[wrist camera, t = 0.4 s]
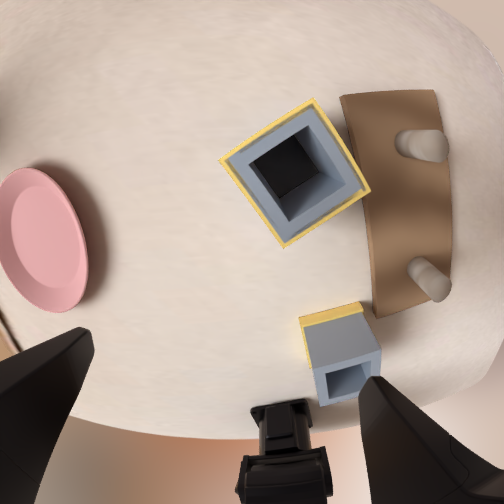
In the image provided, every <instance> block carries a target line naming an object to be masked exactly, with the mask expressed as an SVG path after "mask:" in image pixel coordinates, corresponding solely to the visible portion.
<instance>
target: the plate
mask: <svg viewBox="0 0 504 504" xmlns="http://www.w3.org/2000/svg"><path fill="white" fill-rule="evenodd" d="M0 263H1V265H2V267H3V269H4V271H5V273H6V275H7V277H8V278H9V280H10V281H11V283H12V284H13V286H14V287H15V288H16V289H17V291H18V292H19V293H20V294H21V295H22V296H23V297H24V298H25V299H26V300H28V301H29V302H30V303H32V304H33V305H35V306H36V307H38V308H40V309H42V310H45V311H48V312H53V313H61V312H66V311H68V310H70V309H72V308H73V307H75V306H76V305H77V304H78V303H79V301H80V300H81V298H82V297H83V295H84V292H85V289H86V286H87V281H88V269H89V266H88V253H87V247H86V242H85V237H84V233H83V230H82V227H81V224H80V221H79V219H78V216H77V214H76V212H75V210H74V208H73V206H72V204H71V202H70V200H69V199H68V197H67V195H66V194H65V193H64V191H63V190H62V189H61V187H60V186H59V185H58V184H57V183H56V182H55V181H54V180H53V179H52V178H51V177H50V176H48V175H47V174H45V173H44V172H42V171H40V170H37V169H34V168H21V169H18V170H15V171H14V172H12V173H11V174H9V175H8V176H7V177H6V178H5V180H4V181H3V182H2V184H1V185H0Z"/></svg>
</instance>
